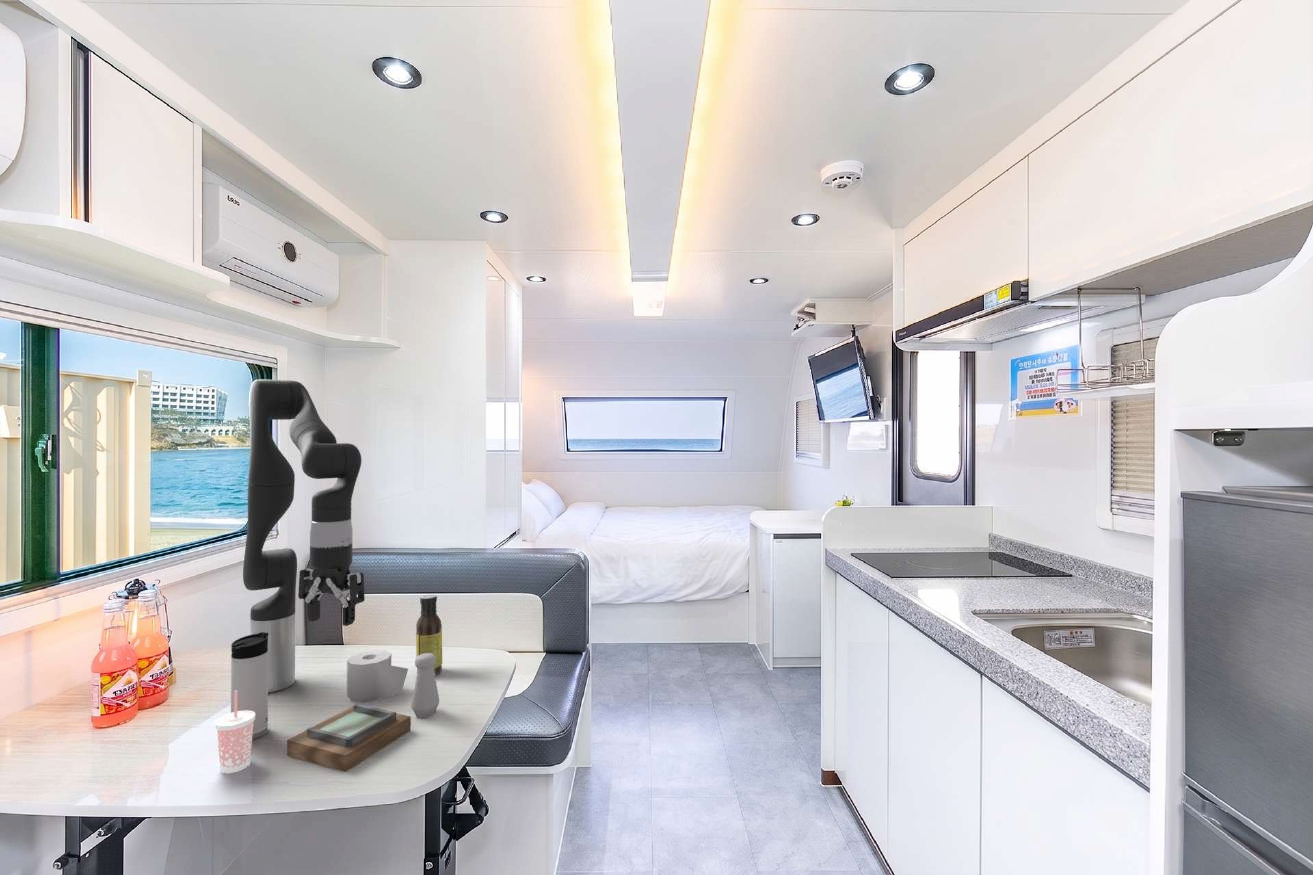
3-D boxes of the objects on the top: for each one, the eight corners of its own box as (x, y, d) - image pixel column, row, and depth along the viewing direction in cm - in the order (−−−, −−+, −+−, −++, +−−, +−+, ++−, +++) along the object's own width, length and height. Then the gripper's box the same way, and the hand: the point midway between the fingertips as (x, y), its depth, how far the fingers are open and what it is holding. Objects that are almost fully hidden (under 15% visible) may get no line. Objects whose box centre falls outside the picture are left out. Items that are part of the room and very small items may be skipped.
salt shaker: (429, 721, 126) (429, 661, 126) (405, 718, 127) (405, 659, 127) (444, 709, 132) (444, 651, 132) (421, 706, 133) (421, 649, 133)
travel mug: (276, 729, 122) (277, 633, 122) (245, 745, 116) (245, 644, 116) (255, 724, 125) (255, 630, 124) (223, 739, 118) (223, 640, 118)
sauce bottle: (447, 671, 153) (447, 595, 153) (427, 680, 147) (428, 601, 147) (430, 666, 156) (430, 591, 156) (410, 675, 151) (410, 597, 150)
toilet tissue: (409, 693, 140) (409, 657, 140) (346, 704, 134) (346, 667, 134) (407, 679, 148) (407, 645, 148) (347, 689, 142) (347, 653, 142)
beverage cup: (229, 778, 105) (230, 700, 105) (206, 771, 107) (207, 695, 107) (263, 761, 111) (263, 687, 111) (240, 754, 113) (241, 682, 113)
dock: (287, 755, 112) (287, 732, 112) (356, 718, 127) (356, 697, 127) (345, 771, 107) (345, 747, 107) (410, 730, 122) (410, 709, 122)
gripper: (287, 543, 117) (287, 624, 117) (345, 548, 113) (344, 632, 113) (318, 537, 124) (318, 613, 124) (374, 541, 120) (373, 620, 120)
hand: (331, 622), depth 118 cm, fingers open, 8 cm apart
